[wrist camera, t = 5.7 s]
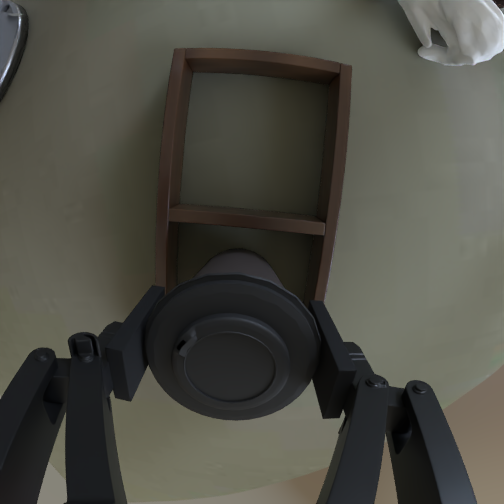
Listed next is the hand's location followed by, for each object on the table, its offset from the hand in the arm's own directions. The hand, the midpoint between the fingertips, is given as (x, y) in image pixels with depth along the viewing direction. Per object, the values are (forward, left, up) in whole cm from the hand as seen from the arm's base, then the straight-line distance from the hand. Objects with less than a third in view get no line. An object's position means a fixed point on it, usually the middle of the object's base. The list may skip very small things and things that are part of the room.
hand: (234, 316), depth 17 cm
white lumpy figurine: (+12, +24, -6) cm, 27 cm away
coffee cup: (0, 0, -5) cm, 5 cm away
